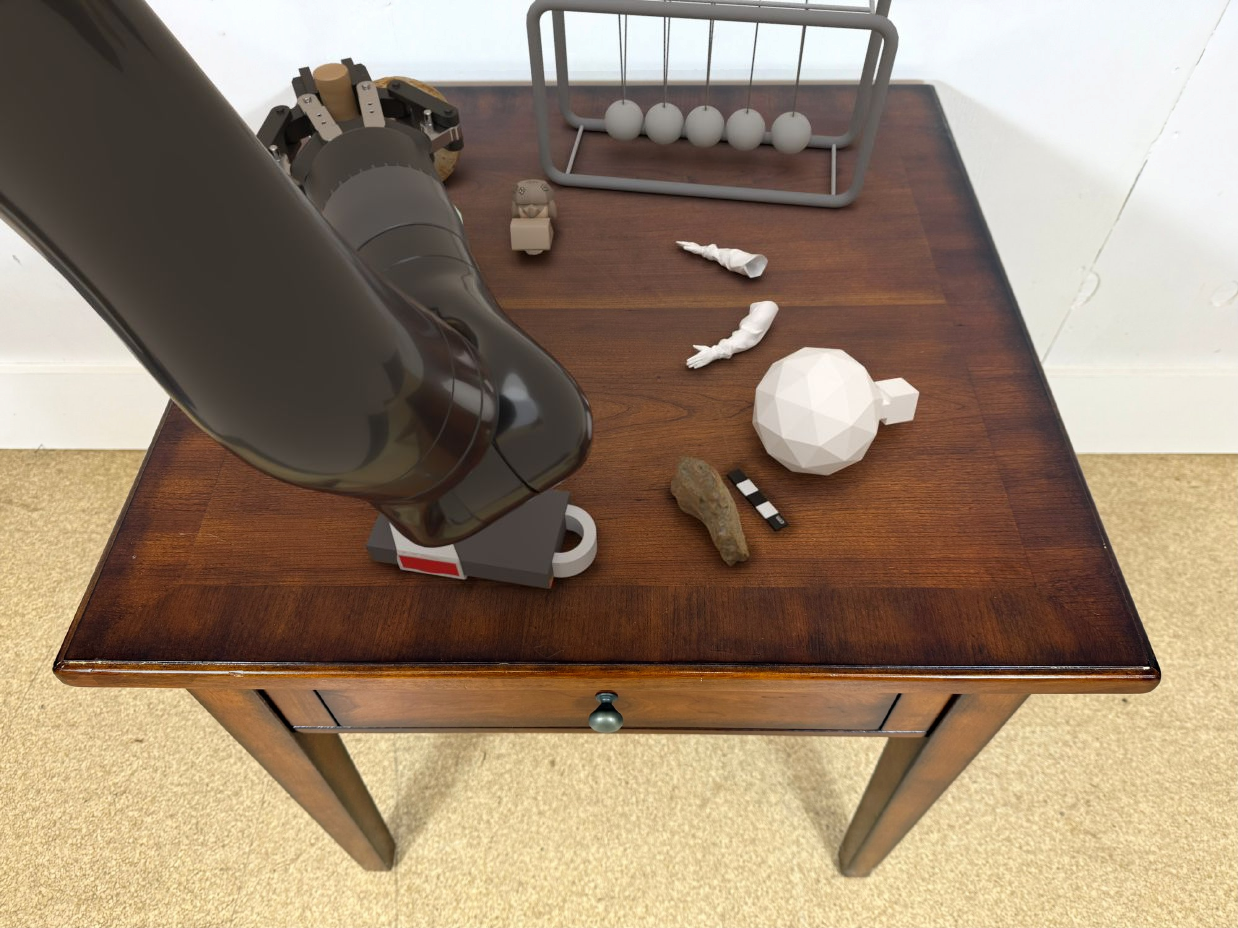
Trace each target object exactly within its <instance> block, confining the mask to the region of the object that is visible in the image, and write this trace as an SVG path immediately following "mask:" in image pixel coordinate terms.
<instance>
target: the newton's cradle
mask: <svg viewBox="0 0 1238 928" xmlns="http://www.w3.org/2000/svg"><path fill="white" fill-rule="evenodd" d="M868 1H869V3H868V5H869V6H854V5H839V4H823V3H822V4H820V3H810V0H805V3H804V2H803V3H802V2H788V1H787V2H786V1H769V0H534V1H533V2H532V3H531V5H530V6H529V8H528V9H527V13H526V19H525V21H526V23H525V25H526V36H527V45H528V47H527V48H528V55H529V65H530V66H529V67H530V75H531V77H530V78H531V85H532V96H533V97H532V98H533V104H534V107H533V108H534V115H535V124H536V136H537V145H538V156H539V164H540V167H541V170H542V172H543V174H544V175H545V176H546V178H548V179H549V180H550V181H551V182H552V183H553V182H554V183H555V184H557V185H560V186H565V187H576V188H577V187H578V188H588V189H589V188H590V189H600V190H601V189H603V190H614V191H625V192H638V193H650V194H660V195H661V194H663V195H675V196H686V197H697V198H699V197H700V198H710V199H711V198H713V199H723V200H735V201H748V202H760V203H773V204H782V205H783V204H784V205H785V204H786V205H797V206H808V207H820V208H832V209H833V208H843V207H846V206H848V205H850V204H851V203H854V202H855V201H856V200H857V198H859V196H860V195H861V193H862V191H863V188H864V185H865V180H866V177H867V173H868V169H869V165H870V161H871V158H872V153H873V150H874V144H875V141H876V137H877V133H878V129H879V125H880V121H881V117H882V112H883V108H884V105H885V101H886V97H887V93H888V88H889V84H890V81H891V76H892V72H893V69H894V65H895V61H896V56H897V53H898V49H899V42H900V41H899V40H900V36H899V33H898V28H897V27H896V26H895V24H894V23H893V21H892V20H891V19H889V13H890V9H891V5H892V0H877V3H876V4H875V1H876V0H868ZM547 12H551V19H552V35H553V45H554V46H553V48H554V59H555V61H554V62H555V72H556V87H557V99H558V109H559V113H560V115H561V117H562V119H563V120H564V122H565V123H567V124H568V125H569V127H570V126H571V127H572V128H574V129H576V130H578V132H577V134H576V138H575V142H574V145H573V148H572V151H571V153H570V158H569V161H568V164H567V167H566V170H565V172H562V171H560V170H558V169H557V168H556V166H554V164H553V158H552V147H551V146H552V145H551V135H550V123H549V111H548V101H547V89H546V79H545V78H546V77H545V67H544V66H545V65H544V55H543V43H542V31H541V18H542V15H544V13H547ZM565 12H573V13H588V14H589V13H590V14H605V15H617V16H618V35H619V36H618V37H619V57H620V78H621V99H620V100H619V99H618V100H617V101H614V102H613V103H612V104H611V105H610V106H609V107H608V108H607V110H606V112H605V115H604V119H601V118H586V117H581V116H578V115H576V114H575V113H574V112H573V111H572V108H571V98H570V85H569V82H570V81H569V69H568V67H569V66H568V51H567V39H566V36H567V35H566V22H565V21H566V20H565ZM621 15H622V16H624V58H623V47H622V26H621V25H622V23H621V22H622V21H621ZM628 16H637V17H651V18H652V17H656V18H663V94H662V95H663V96H662V97H663V98H662V99H663V102H659V103H657V104H655V105H653V106H652V107H651V108H649V110H648V111H647V113H646V115H645V117H644V114H643V111H642V109H641V107H640V106H639V105H638V104H637V103H636V102H634V101H632V100H629V99H626V93H627V92H626V89H627V87H626V85H627V84H626V83H627V82H626V81H627V40H628V39H627V36H628V35H627V34H628V32H627V31H628ZM667 18H668V19H667ZM671 19H683V20H684V19H687V20H700V21H701V20H702V21H709V27H708V29H709V31H708V33H709V34H708V44H707V45H708V48H707V65H706V81H705V84H706V85H705V98H704V105H699V106H697V107H695V108H694V109H693V110H691V111H690V112H689V114H688V115H687V117H686V119H685V120H684V115H683V113H682V112H681V109H679V108H678V107H677V106H676V105H674V104H672V103H671V102H667V91H668V89H667V88H668V73H669V71H668V70H669V53H670V50H669V49H670V31H671V29H670V28H671ZM666 20H668V21H666ZM715 21H716V22H717V21H718V22H737V23H749V24H750V23H752V24H755V25H756V26H755V33H754V42H753V52H752V59H751V68H750V78H749V87H748V94H747V95H748V97H747V104H746V108H741V109H738V110H736V111H734V112H733V113H732V114H731V115H730V116H729V118H728V119H727V122H726V124H725V119H724V117H723V115H722V113H721V112H720V111H719V110H718V109H717V108H715V107H714V106H711V105H708V101H709V100H708V99H709V87H710V76H711V64H712V63H711V62H712V53H713V51H712V50H713V39H714V27H715ZM666 23H667V24H666ZM759 24H767V25H783V26H800V27H801V26H802V29H801V37H800V45H799V54H798V63H797V72H796V80H795V89H794V94H793V95H794V96H793V105H792V111H787V112H784V113H782V114H780V115H779V116H778V117H777V118H776V119H775V120H774V122H773V123H772V126H771V129H770V131H766V122H765V120H764V118H763V116H762V115H761V114H760V113H759V112H758V111H756V110H755V109H752V108H750V102H751V101H750V100H751V92H752V83H753V75H754V66H755V58H756V48H757V41H758V40H757V39H758V32H759ZM666 26H667V27H666ZM807 27H816V28H832V29H833V28H834V29H849V30H863V31H864V30H866V31H870V34H869V39H868V44H867V48H866V53H865V57H864V62H863V66H862V71H861V76H860V80H859V85H858V88H857V94H856V99H855V103H854V108H853V112H852V117H851V121H850V125H849V127H848V128H849V129H848V130H847V131H846V132H845V133H844V134H842V135H839V136H832V135H818V134H812V126H811V124H810V123H811V122H809V119H807V117H806V116H805V115H803V113H800V112H798V111H796V106H797V99H798V98H797V97H798V91H799V88H798V87H799V82H800V75H801V67H802V60H803V54H804V46H805V41H806V40H805V39H806V31H807ZM666 31H667V34H666ZM666 36H667V38H666ZM882 42H883V46H882ZM881 48H882V50H881ZM880 51H881V53H880ZM880 54H881V55H880ZM879 55H880V59H879ZM623 59H624V60H623ZM878 61H879V63H878ZM623 62H624V63H623ZM877 65H878V66H877ZM876 69H877V71H876ZM875 74H876V76H875ZM874 77H875V78H874ZM874 79H875V80H874ZM873 82H874V84H873ZM872 86H873V88H872ZM871 91H872V93H871ZM870 94H871V97H870ZM869 98H870V100H869ZM868 103H869V105H868ZM867 108H868V110H867ZM866 111H867V112H866ZM866 113H867V114H866ZM865 117H866V118H865ZM864 120H865V122H864ZM863 125H864V126H863ZM862 129H863V131H862ZM583 131H593V132H606V133H608V135H609V136H610V138H612V139H613V140H615V141H618V142H621V143H627V142H631V141H633V140H635V139H636V138H637V137H638V136H639V135H646V136H647V137H648V138H649V139H650V141H652V142H653V143H655V144H657V145H659V146H667V145H671V144H673V143H675V142H677V140H679V138H683V139H685V138H687V140H688V142H690V143H691V144H692V145H693V146H694V147H697V148H700V149H709V148H712V147H713V146H715V145H716V144H718V143H719V142H720V141H725V142H727V143H728V144H729V145H730V147H732V148H733V149H735V150H737V151H739V152H749V151H753V150H754V149H756V148H757V147H759V146H760V144H764V145H765V144H766V145H773V147H774V148H775V149H776V150H777V151H778V152H779V153H780V154H781V153H782V154H783V155H788V156H789V155H795V154H799V153H800V152H802V151H803V150H804V149H805V148H819V149H829V150H830V149H831V169H830V170H831V173H830V174H831V175H830V176H831V178H830V179H831V181H830V182H831V183H830V194H825V193H815V192H801V191H791V190H790V191H789V190H777V189H765V188H764V189H763V188H753V187H741V186H739V187H738V186H727V185H716V184H702V183H692V182H691V183H689V182H679V181H678V182H677V181H666V180H665V181H664V180H653V179H643V178H642V179H640V178H628V177H618V176H617V177H615V176H604V175H593V174H578V173H571V171H572V168H573V164H574V162H575V161H574V160H575V158H576V154H577V152H578V148H579V145H580V141H581V138H582V134H583ZM861 131H862V134H861ZM860 134H861V139H860V143H859V148H858V152H857V156H856V157H857V158H856V161H855V166H854V169H853V173H852V177H851V183H850V186H849V188H848V189H847V190H846V191H844V192H843V193H839V194H836V190H837V189H836V186H837V185H836V183H837V182H836V180H837V179H836V178H837V177H836V175H837V174H836V173H837V170H836V169H837V150H838V149H843V148H845V147H848V146H850V145H851V144H852V143H854V142H855V141H856V140H857V138H858V137H859V136H860Z"/></svg>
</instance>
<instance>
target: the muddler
mask: <svg viewBox="0 0 1238 928" xmlns="http://www.w3.org/2000/svg"><path fill="white" fill-rule="evenodd" d="M312 76H313V79H314V81H315V85H316V88H317V90H318V91H319V94H320V98H321V101H322V104H323V106H325V107H326V109H327V110H328V112H329V114H330V115H331V117H332V118H333V120H334V122H337V121H348V120H351V119H353V118H356V117H358V116H360V114H359V110H358V106H357V103H356V99H355V95H354V92H353V88H352V84H351V79H350V75H349V72H348V68H347V67H346V66H345V65H343V64H341V63H339V62H332V63H331V62H330V63H325V64H322V65H319V66H317V67H316V68H315V69H314V70H313V71H312Z"/></svg>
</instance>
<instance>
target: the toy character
mask: <svg viewBox="0 0 1238 928" xmlns="http://www.w3.org/2000/svg"><path fill="white" fill-rule="evenodd" d="M511 201H512V202H511V205H510V206H511V208H510V212H511V218H512V219H511V221H510V225H509V226H510V227H509V228H510V229H509V231H510V241H511V251H512V252H513V251H516V252H517V251H525V253H527V254H528V255H532V256H533V255H534V256H535V255H536V256H537V255H539V254H541V253H542V252H543V251H551V247H552V242H553V238H554V230H553V226H552V223H551V220H556V218H558V210H557V205H556V202H555V190H554V189H553V188H552V187H551V186H550V184H549V183H548V182H547V181H546V180H544V179H535V178H534V179H533V178H532V179H526V180H520V181H519V182H517V183H516V184H515V186H513V189H512V190H511Z"/></svg>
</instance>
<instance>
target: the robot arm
mask: <svg viewBox="0 0 1238 928" xmlns="http://www.w3.org/2000/svg"><path fill="white" fill-rule="evenodd" d="M340 64H343V65H345V66H346V67H347V68H348V72H349V75H350V79H351V84H352V88H353V92H354V95H355V99H356V103H357V106H358V110H359V114H360V116H358V117H356V118H353V119H351V120H348V121H337V122H334V120H333V118H332V117H331V115H330V114H329V112H328V110H327V109H326V107H325V106H323V104H322V101H321V98H320V94H319V91H318V90H317V88H316V85H315V81H314V78H313V72H312V71H311V69H310V66H304V67H299V68H298V69H297V70H298V73H299V76H295V77H292V79H291V86H292V89H293V92H294V95H295V97H296V100H297V104H296V105H295V106H293V107H292V108H291V107H290V106H288V105H285V104H279V105H276V106H273V107H272V108H271V109H270V110H269V112H268V114H267V116H266V117H265V119H264V120H263V122H262V124H261V126H260V127H259V129H258V132H257V133H256V134H255V132H254V131H253V130H252V128H251V127H250V126H249V125H248V124H247V123H246V121H245V120H244V118H242V116H241V115H240V114H239V112H237V110H236V109H235V108H234V106H233V105H232V104H231V103H230V102H229V100H228V99H227V98H226V96H225V95H224V94H223V93H222V92H221V91H220V89H219V88H218V87H217V86H216V85H215V83H214V82H213V81H212V80H211V79H210V78H209V76H208V75H207V74H206V73H205V71H204V70H203V69H202V68H201V67H200V65H199V64H198V62H196V61H195V59H194V58H193V57H192V55H191V54H190V53H189V51H188V50H187V49H186V48H185V47H184V46H183V44H182V43H181V41H179V40H178V38H177V37H176V36H175V35H174V33H173V32H172V30H171V29H169V27H168V26H167V25H166V24H165V23H164V21H163V20H162V19H161V18H160V17H159V16H158V14H157V13H156V12H155V10H153V8H152V7H151V6H150V4H149V3H148V2H147V1H146V0H0V220H1V221H2V222H3V223H4V224H5V225H7V226H8V227H9V229H11V230H12V231H13V232H15V233H16V234H17V235H18V236H19V237H20V238H21V239H23V240H24V241H25V243H27V245H29V246H30V247H31V248H32V249H33V250H35V252H37V253H38V254H39V255H40V256H41V257H42V258H43V259H44V260H45V261H47V263H49V264H50V266H52V267H53V268H54V269H55V270H56V271H57V272H58V273H59V274H60V275H61V276H62V277H63V278H64V279H65V280H66V281H67V283H69V285H71V287H73V288H74V290H75V291H76V292H77V293H78V294H79V295H80V296H81V298H82V299H84V301H85V302H86V303H87V305H89V306H90V308H92V310H94V311H95V313H96V314H97V315H98V317H100V318H101V319H102V320H103V321H104V323H105V324H106V325H107V326H108V327H109V328H110V329H111V331H112V332H113V333H114V334H115V335H116V337H117V338H118V339H119V340H120V341H121V343H122V344H123V345H124V347H126V348H127V349H128V351H129V352H130V353H131V355H132V356H133V357H134V358H135V360H137V362H138V363H139V364H140V365H141V366H142V367H143V369H144V370H145V371H146V372H147V373H148V374H149V375H150V376H151V378H152V379H153V380H154V381H155V382H156V383H157V384H158V385H159V386H160V388H161V389H162V390H163V391H164V392H165V393H166V395H167V396H168V397H169V399H171V400H172V401H173V402H174V403H175V405H177V406H178V408H179V409H180V410H181V411H182V412H183V413H184V414H185V415H186V416H187V417H188V418H189V419H190V420H191V421H192V422H193V423H194V424H195V425H196V426H197V427H198V429H200V431H202V432H203V433H204V434H206V435H207V436H208V438H210V439H211V440H212V441H214V442H215V443H216V445H218V446H220V447H221V448H223V449H224V450H225V451H226V452H228V453H230V454H231V455H232V456H233V457H235V458H236V459H238V460H239V461H240V462H242V463H243V464H245V465H246V466H247V467H249V468H251V469H254V470H256V471H257V472H258V473H259V472H260V473H261V474H263V475H264V476H267V477H270V478H272V479H274V480H275V481H279V482H281V483H284V484H286V485H289V486H293V487H294V488H295V487H296V488H297V489H298V488H299V489H303V490H307V491H313V492H316V493H317V492H318V493H321V494H328V495H333V496H339V497H343V498H349V499H355V500H360V501H365V502H366V503H368V504H369V505H370V506H371V507H373V508H374V510H376V511H378V512H379V513H382V514H383V515H384V516H385V518H386V519H387V520H388V521H389V522H390V524H391V525H392V526H393V527H394V528H395V529H396V530H397V531H398V532H399V533H400V534H401V535H402V536H404V537H405V538H406V539H408V540H409V541H410V542H412V543H414V544H416V545H418V546H421V547H425V548H439V547H444V546H449V545H452V544H456V543H459V542H461V541H464V540H466V539H468V538H470V537H472V536H474V535H476V534H477V533H479V532H481V531H482V530H484V529H486V528H487V527H489V526H491V525H492V524H493V523H495V522H497V521H499V520H500V519H502V518H503V517H505V516H507V515H508V514H510V513H512V512H513V511H515V510H517V509H518V508H520V507H522V506H523V505H525V504H526V503H528V502H530V501H531V500H533V499H535V498H536V497H538V496H540V495H541V494H542V493H545V492H546V491H548V490H550V489H554V488H555V487H556V486H558V485H560V484H561V483H563V482H565V481H566V480H568V479H569V478H571V477H572V476H573V475H575V474H576V473H577V472H578V471H579V470H581V469H582V467H583V466H584V465H585V463H586V462H587V461H588V459H589V457H590V455H591V452H592V448H593V445H594V441H595V440H594V439H595V422H594V415H593V413H594V412H593V410H592V407H591V404H590V402H589V399H588V397H587V395H586V393H585V392H584V390H583V388H582V386H581V385H580V384H579V383H578V381H577V379H575V377H574V376H573V375H572V374H571V372H570V371H568V369H567V368H566V367H565V366H564V365H563V364H562V363H561V362H560V361H559V360H558V359H557V358H556V357H555V356H554V355H553V354H552V353H550V351H548V350H547V349H546V348H545V347H543V345H541V343H539V342H538V341H536V340H535V339H534V338H533V337H532V336H530V335H529V333H527V332H526V331H525V330H524V329H522V328H521V326H519V325H518V324H517V323H516V322H515V321H514V320H513V319H512V318H511V317H510V316H509V315H508V314H507V313H506V311H505V310H504V309H503V307H501V305H500V304H499V302H498V301H497V299H496V297H495V296H494V295H493V293H492V291H491V289H490V287H489V285H488V283H487V281H486V279H485V277H484V275H483V273H482V271H481V268H480V266H479V265H478V263H477V261H476V259H475V257H474V254H473V253H472V249H471V247H470V242H469V238H468V235H467V231H466V228H465V226H464V223H463V224H462V221H463V220H462V221H461V219H460V217H459V215H458V213H457V211H456V209H455V207H456V206H455V205H453V204H454V203H453V201H452V199H451V196H450V195H449V193H448V191H447V188H446V186H445V185H444V183H443V182H444V181H442V180H441V178H440V176H439V174H438V172H437V170H436V168H435V166H434V162H435V156H434V154H433V153H435V152H437V151H438V150H440V149H441V148H444V149H446V150H448V151H451V152H456V151H460V150H461V149H462V150H463V149H464V147H465V142H464V135H463V136H462V134H463V131H462V126H461V125H462V124H461V119H460V113H459V109H458V108H457V107H456V106H454V105H452V104H451V103H449V102H448V103H449V104H448V103H446V102H444V101H442V100H440V99H438V98H436V97H434V96H432V95H430V94H428V93H426V92H424V91H422V90H420V89H418V88H416V87H414V86H412V85H410V84H408V83H406V82H404V81H402V80H393V81H391V82H389V83H388V84H387V88H380V87H377V86H376V85H375V83H374V82H372V81H373V79H372V77H371V76H370V73H369V71H368V69H367V66H366V65H364V64H363V63H360V62H359V63H356V64H355V63H354V60H353V58H352V57H347V58H346V57H345V58H341V59H340ZM389 118H394V120H395V121H394V120H392V119H389ZM308 137H309V139H308V140H307V142H305V144H304V146H302V144H303V143H302V140H304V139H306V138H308ZM454 206H455V207H454Z"/></svg>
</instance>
